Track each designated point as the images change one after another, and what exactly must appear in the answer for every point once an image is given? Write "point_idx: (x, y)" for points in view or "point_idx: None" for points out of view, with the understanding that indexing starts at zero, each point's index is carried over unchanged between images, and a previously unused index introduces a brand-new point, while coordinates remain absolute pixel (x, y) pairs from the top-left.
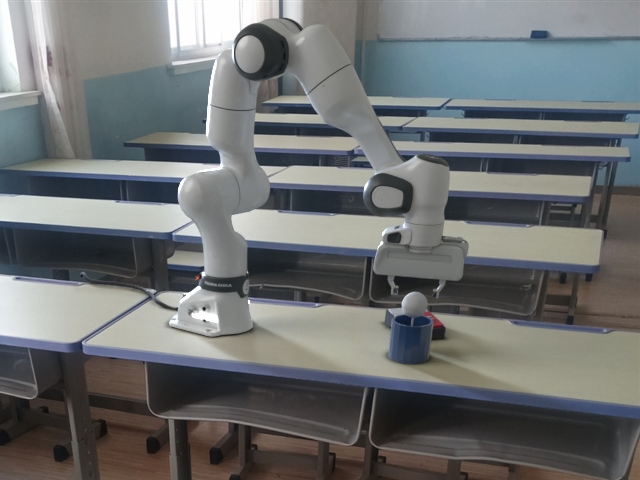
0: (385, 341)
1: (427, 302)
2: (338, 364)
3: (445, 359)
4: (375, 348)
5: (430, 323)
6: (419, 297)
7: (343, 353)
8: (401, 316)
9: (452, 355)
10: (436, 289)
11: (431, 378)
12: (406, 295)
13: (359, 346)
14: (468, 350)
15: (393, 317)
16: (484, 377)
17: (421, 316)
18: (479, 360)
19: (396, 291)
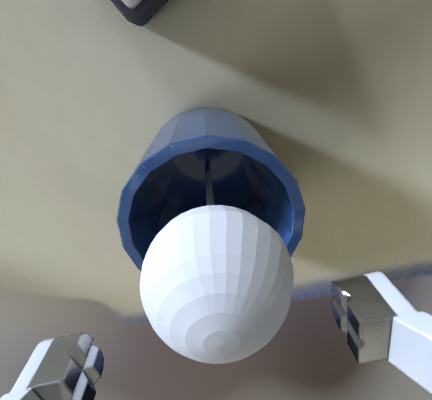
0: (79, 62)
1: (292, 272)
2: (78, 290)
3: (315, 136)
4: (90, 149)
5: (295, 231)
6: (256, 350)
7: (40, 227)
8: (139, 186)
9: (333, 90)
10: (387, 325)
11: (299, 268)
12: (156, 329)
13: (38, 156)
14: (386, 3)
15: (120, 232)
16: (422, 211)
17: (230, 149)
18: (419, 93)
19: (91, 387)
